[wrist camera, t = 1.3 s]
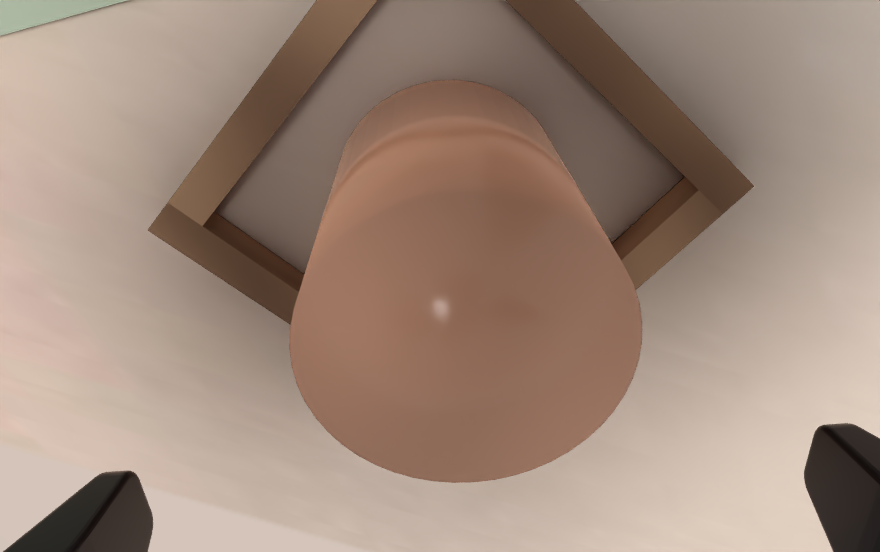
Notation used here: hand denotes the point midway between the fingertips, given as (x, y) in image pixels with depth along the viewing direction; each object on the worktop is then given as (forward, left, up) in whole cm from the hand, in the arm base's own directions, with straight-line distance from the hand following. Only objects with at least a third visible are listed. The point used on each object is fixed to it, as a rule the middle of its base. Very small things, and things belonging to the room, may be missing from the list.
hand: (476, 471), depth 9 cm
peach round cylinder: (0, 0, -10) cm, 10 cm away
